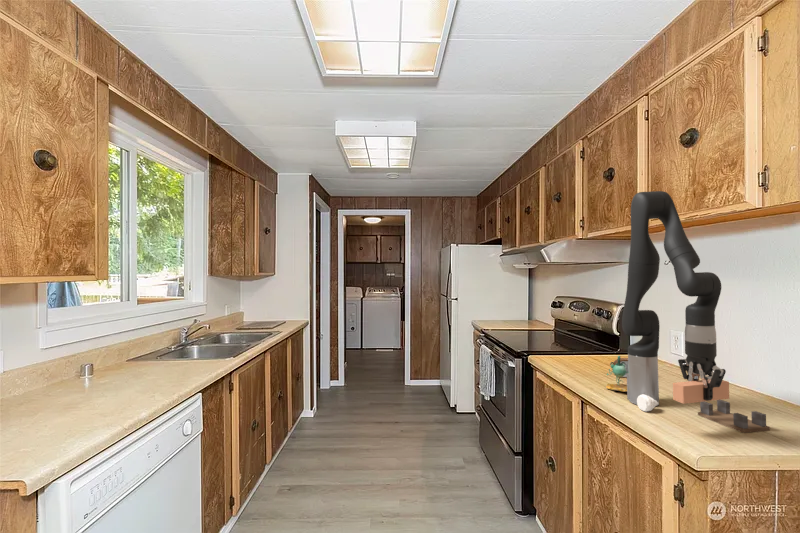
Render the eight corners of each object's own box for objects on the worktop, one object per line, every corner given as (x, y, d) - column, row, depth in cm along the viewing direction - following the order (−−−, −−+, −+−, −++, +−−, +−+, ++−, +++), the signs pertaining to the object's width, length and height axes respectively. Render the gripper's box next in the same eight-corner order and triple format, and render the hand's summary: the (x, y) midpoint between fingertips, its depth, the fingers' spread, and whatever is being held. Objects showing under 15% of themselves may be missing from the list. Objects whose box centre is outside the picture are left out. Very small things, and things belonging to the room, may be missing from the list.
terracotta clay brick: (673, 399, 120) (672, 382, 120) (717, 394, 124) (717, 378, 123) (683, 403, 117) (683, 386, 117) (729, 398, 120) (728, 381, 120)
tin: (648, 376, 179) (648, 357, 179) (651, 378, 176) (651, 359, 176) (612, 376, 182) (611, 357, 182) (614, 378, 179) (614, 359, 179)
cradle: (697, 415, 133) (697, 401, 133) (721, 412, 135) (720, 399, 135) (744, 433, 118) (743, 417, 118) (769, 430, 120) (769, 414, 120)
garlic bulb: (663, 412, 136) (663, 396, 136) (648, 413, 135) (647, 397, 135) (650, 407, 142) (650, 391, 142) (635, 408, 140) (635, 392, 140)
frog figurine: (618, 398, 152) (615, 357, 154) (599, 389, 170) (596, 353, 172) (645, 397, 151) (641, 357, 153) (623, 389, 169) (620, 352, 171)
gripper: (669, 336, 126) (670, 391, 126) (711, 345, 112) (713, 407, 113) (689, 335, 128) (690, 389, 128) (734, 343, 114) (735, 404, 114)
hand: (701, 397), depth 120 cm, fingers closed on terracotta clay brick, 3 cm apart
